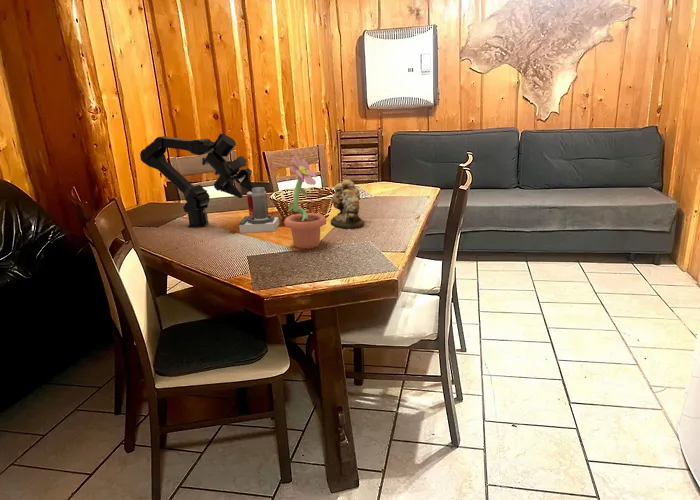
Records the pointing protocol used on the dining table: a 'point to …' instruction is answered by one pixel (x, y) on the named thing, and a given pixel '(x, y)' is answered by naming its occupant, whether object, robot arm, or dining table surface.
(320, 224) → the decorative flower
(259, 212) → the gray tumbler
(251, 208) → the canned food
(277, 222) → the square flange plate
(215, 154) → the robot arm
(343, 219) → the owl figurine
